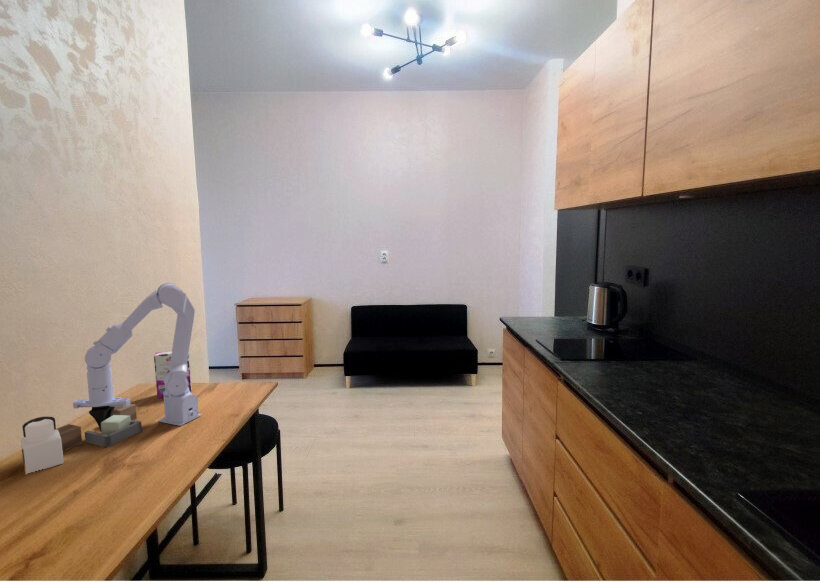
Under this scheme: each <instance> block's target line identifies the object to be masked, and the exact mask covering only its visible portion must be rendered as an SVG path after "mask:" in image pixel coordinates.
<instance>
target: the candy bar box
mask: <svg viewBox="0 0 820 582" xmlns="http://www.w3.org/2000/svg"><path fill="white" fill-rule="evenodd" d="M171 353H172V350H168V351H167V350H166V351H159V352H155V353H154V355H153V363H154V372H155V373H154V374H155V382H156V384H155V385H156V386H155V387H156V397H157V399H158V398H159V399H160V398H164V397H163V392H164V391H165V383H164V381H163V377H164V375H165V373H166V372H167V371H168V367H169V363H170V360H171ZM190 361H191V360H190V352H189V353H188V359H187V375H186V378H187V380H188V387H189V391H190V392H191V393H192V390H193V386H192V375H191V374H192V373H191V362H190Z"/></svg>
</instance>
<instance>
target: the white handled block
mask: <svg viewBox="0 0 820 582" xmlns="http://www.w3.org/2000/svg"><path fill="white" fill-rule="evenodd" d="M56 426H57V424H56V418H55V417H54V416H40V417H35V418H33V419H29V420H28V421H26V422H24V423H23V424H22V434H23V437H22V438H20V443H21V444H20V447H21V452H22V455H21V456H22V461H23V469H24V475H28V474H27V473H30V472H33V473H36V472H35V471H37V472H39V471H38V470H40V471H43V470H46V469H50V468H53V467H57V466H58V465H59V466H60V465H62V464H64V462H65V461H64V453H63V452H64V451H62V442H61V437H60V434H59V431H58V430H57V427H56ZM42 469H43V470H42ZM30 474H31V473H30Z"/></svg>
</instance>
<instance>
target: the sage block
mask: <svg viewBox="0 0 820 582" xmlns="http://www.w3.org/2000/svg"><path fill="white" fill-rule="evenodd" d="M129 425H131V417H130V415H113V416H111V417H109V418H108V419H106V420H104V421H103V422H101V431H100V433H101V434H106V435H109V434H111V433H113V432H116V431H118V430H120V429H122V428H125V427H127V426H129Z"/></svg>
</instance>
